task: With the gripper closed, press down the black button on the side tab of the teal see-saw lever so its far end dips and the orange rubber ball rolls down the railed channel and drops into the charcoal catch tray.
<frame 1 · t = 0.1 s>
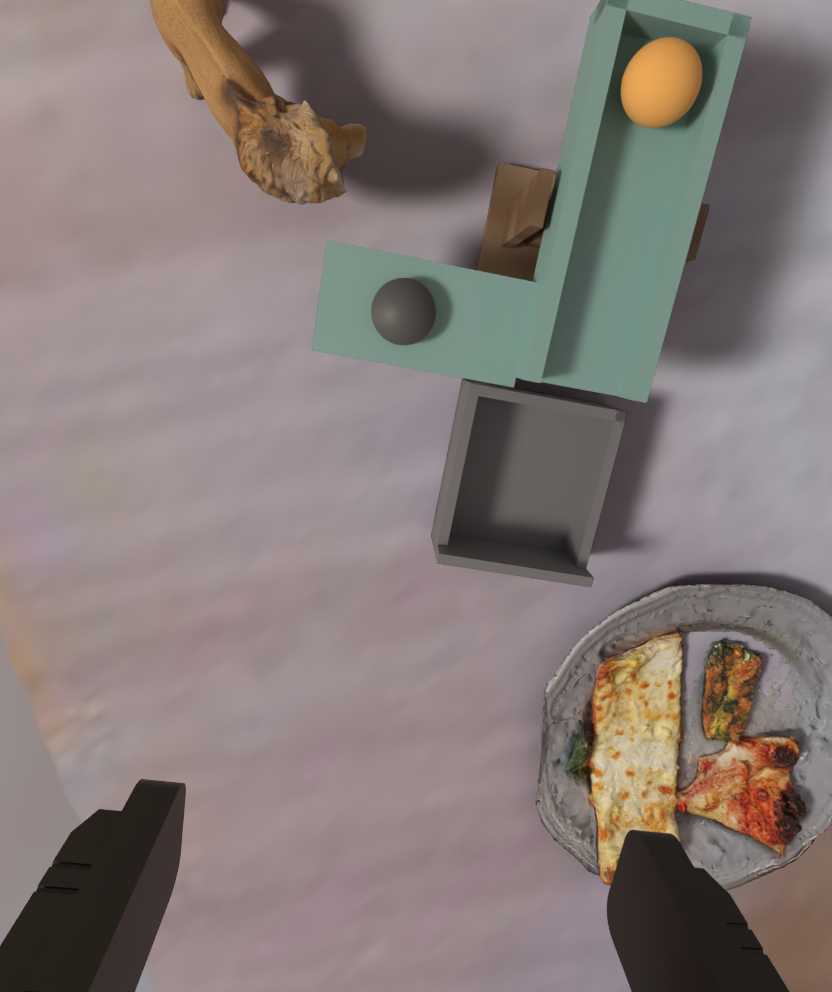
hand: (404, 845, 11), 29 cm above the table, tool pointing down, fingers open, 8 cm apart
food plate: (688, 731, 46), on the table
fulcrum: (569, 239, 36), on the table
tray: (516, 471, 40), on the table
lion figurine: (264, 115, 34), on the table
ball: (660, 84, 26), point 9 cm above the table, touching lever
lever: (512, 198, 28), point 8 cm above the table, hinge at 0.0°, touching ball
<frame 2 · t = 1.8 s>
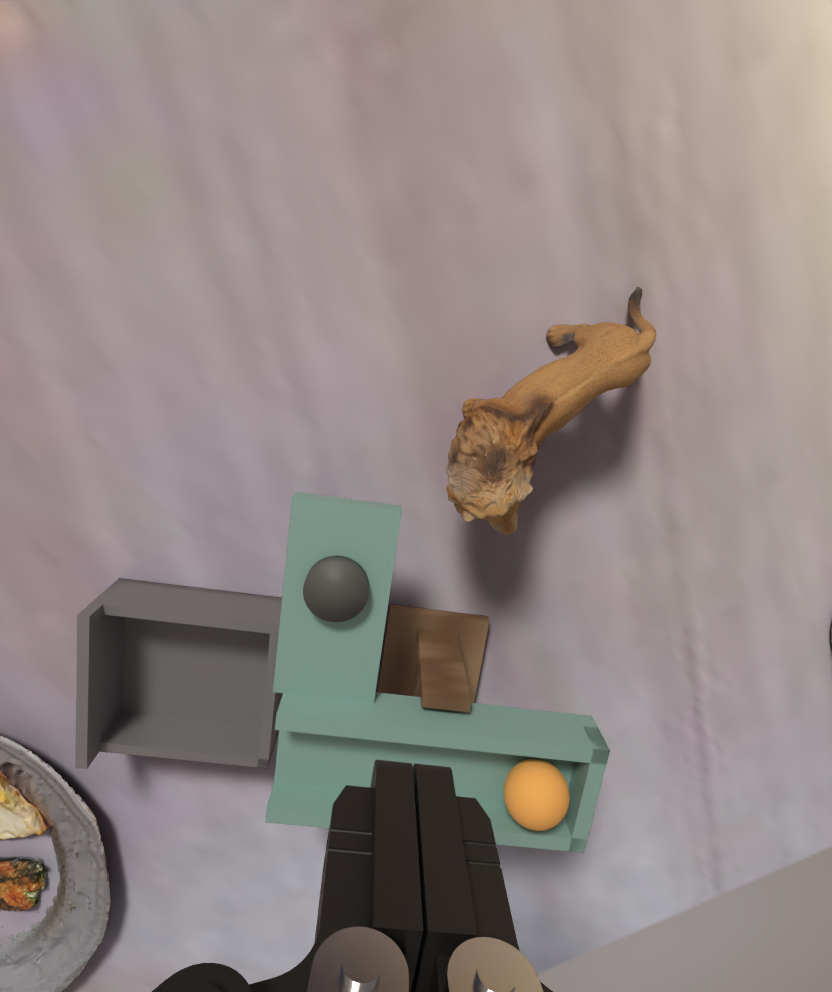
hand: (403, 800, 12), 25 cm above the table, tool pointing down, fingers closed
fulcrum: (427, 683, 39), on the table
tray: (201, 657, 38), on the table
lion figurine: (534, 398, 35), on the table
ball: (536, 793, 31), point 9 cm above the table, touching lever
lever: (445, 679, 30), point 8 cm above the table, hinge at 0.0°, touching ball
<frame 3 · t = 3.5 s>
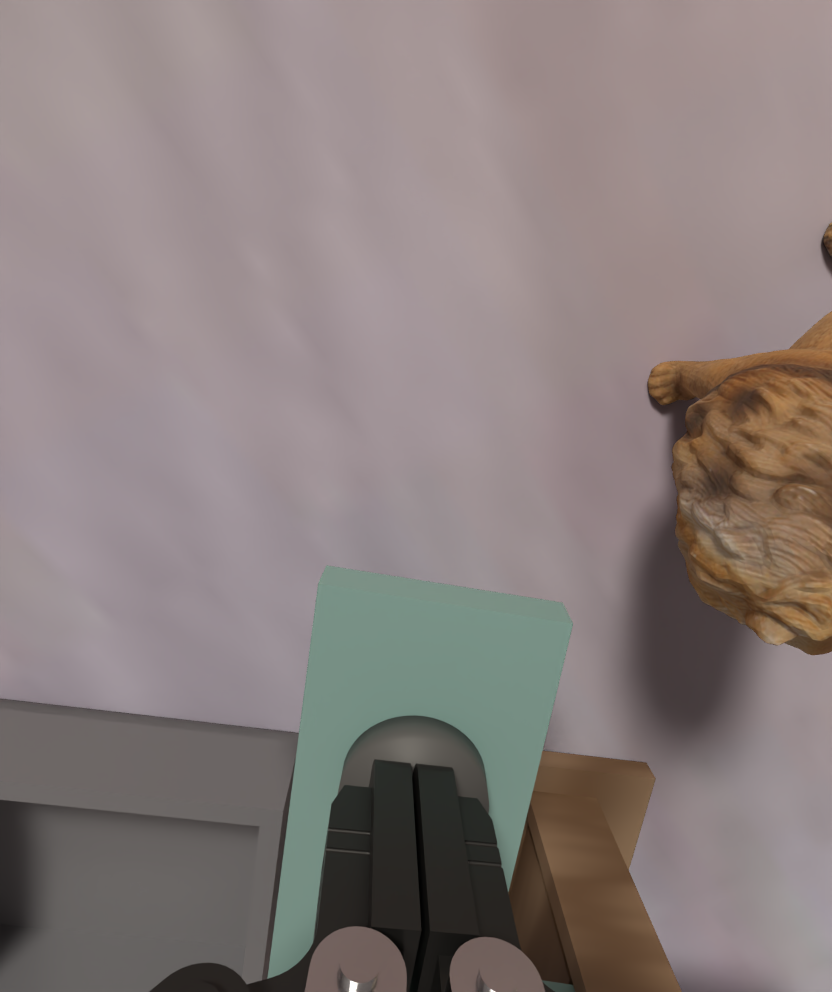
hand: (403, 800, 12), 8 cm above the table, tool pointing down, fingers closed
fulcrum: (532, 871, 23), on the table
tray: (138, 831, 22), on the table
lion figurine: (781, 362, 19), on the table
lever: (642, 984, 14), point 8 cm above the table, hinge at 3.5°, touching gripper
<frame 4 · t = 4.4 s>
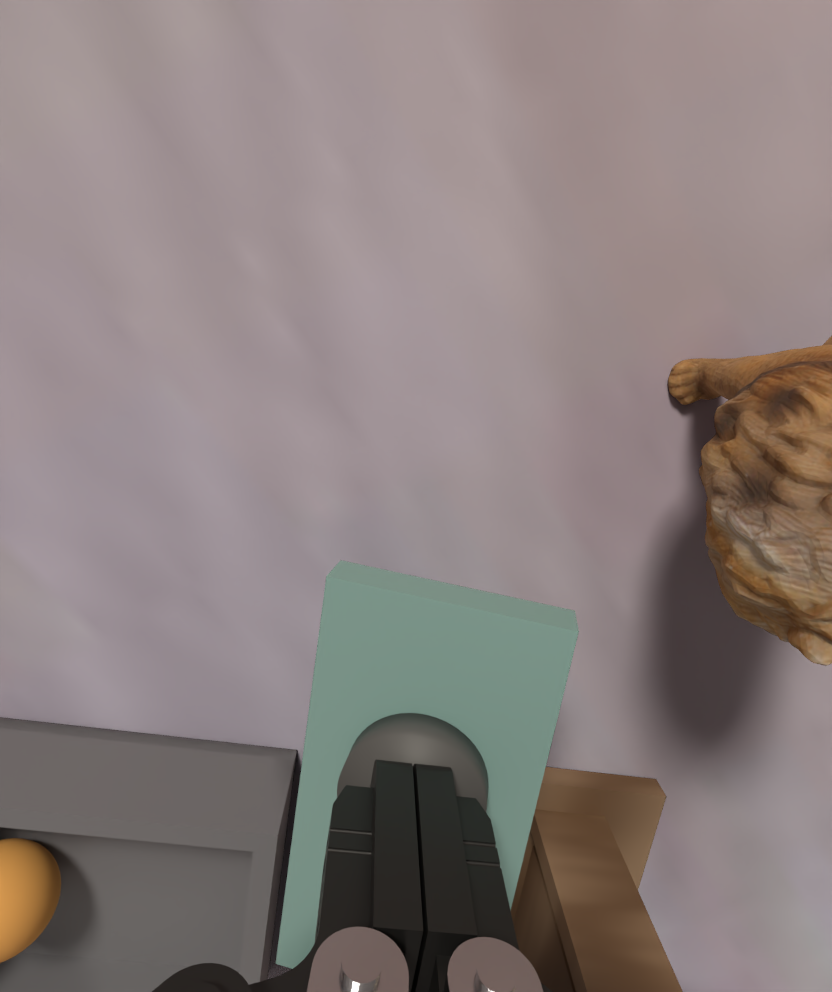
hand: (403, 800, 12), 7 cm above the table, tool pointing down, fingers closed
fulcrum: (537, 891, 22), on the table
tray: (127, 852, 21), on the table
lion figurine: (807, 359, 18), on the table
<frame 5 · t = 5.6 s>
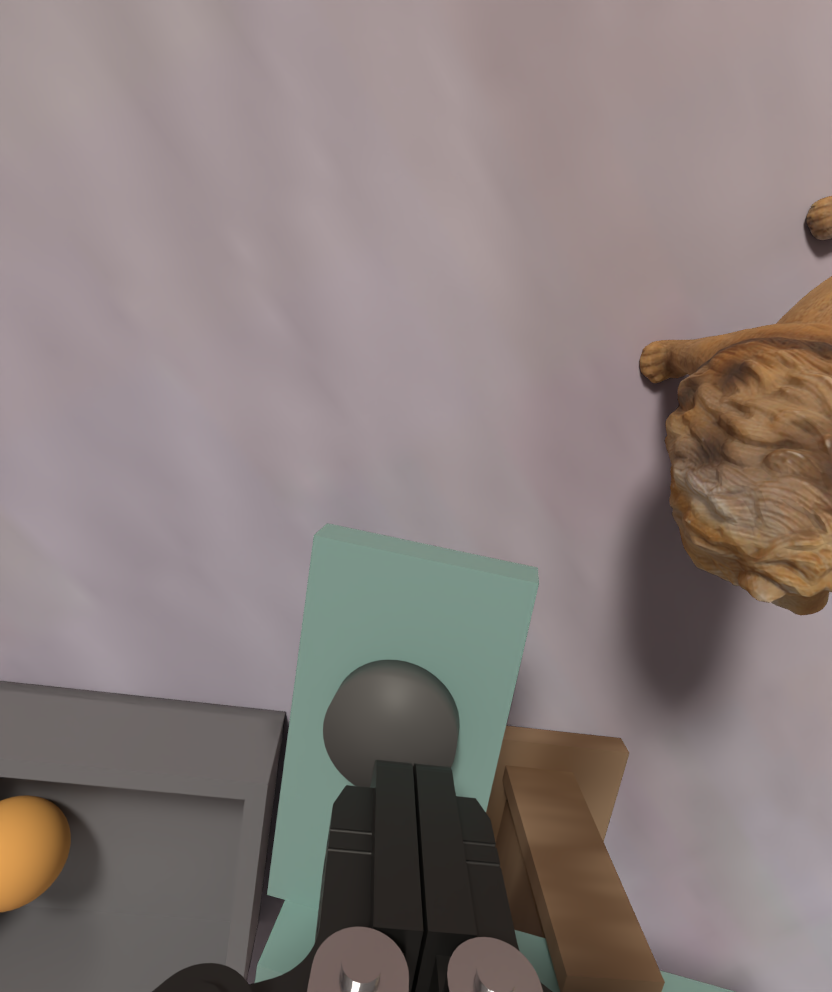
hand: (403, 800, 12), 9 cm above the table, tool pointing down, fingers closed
fulcrum: (511, 844, 23), on the table
tray: (124, 809, 22), on the table
lion figurine: (767, 340, 19), on the table
ball: (12, 851, 20), point 2 cm above the table, tilted 84°, touching tray
lever: (605, 937, 14), point 8 cm above the table, hinge at 12.7°
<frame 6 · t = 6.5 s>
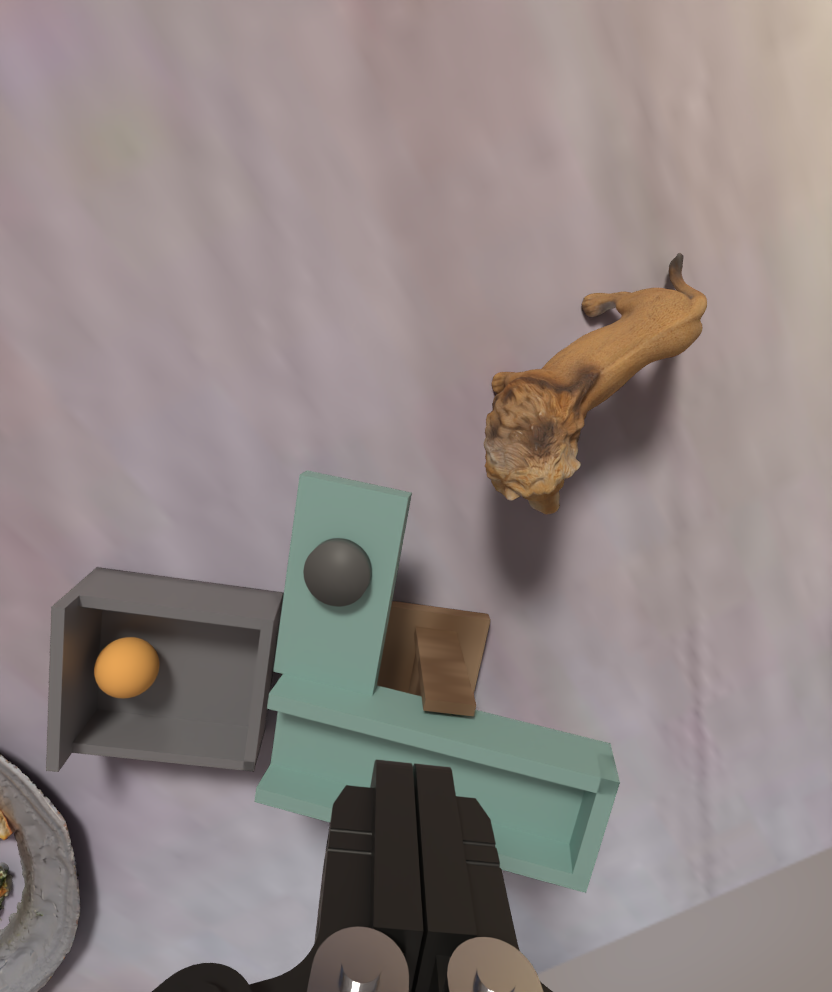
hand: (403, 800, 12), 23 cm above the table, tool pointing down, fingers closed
fulcrum: (422, 682, 37), on the table
tray: (184, 653, 36), on the table
lion figurine: (566, 372, 33), on the table
ball: (127, 667, 34), point 2 cm above the table, tilted 77°, touching tray
lever: (445, 679, 29), point 8 cm above the table, hinge at 12.7°
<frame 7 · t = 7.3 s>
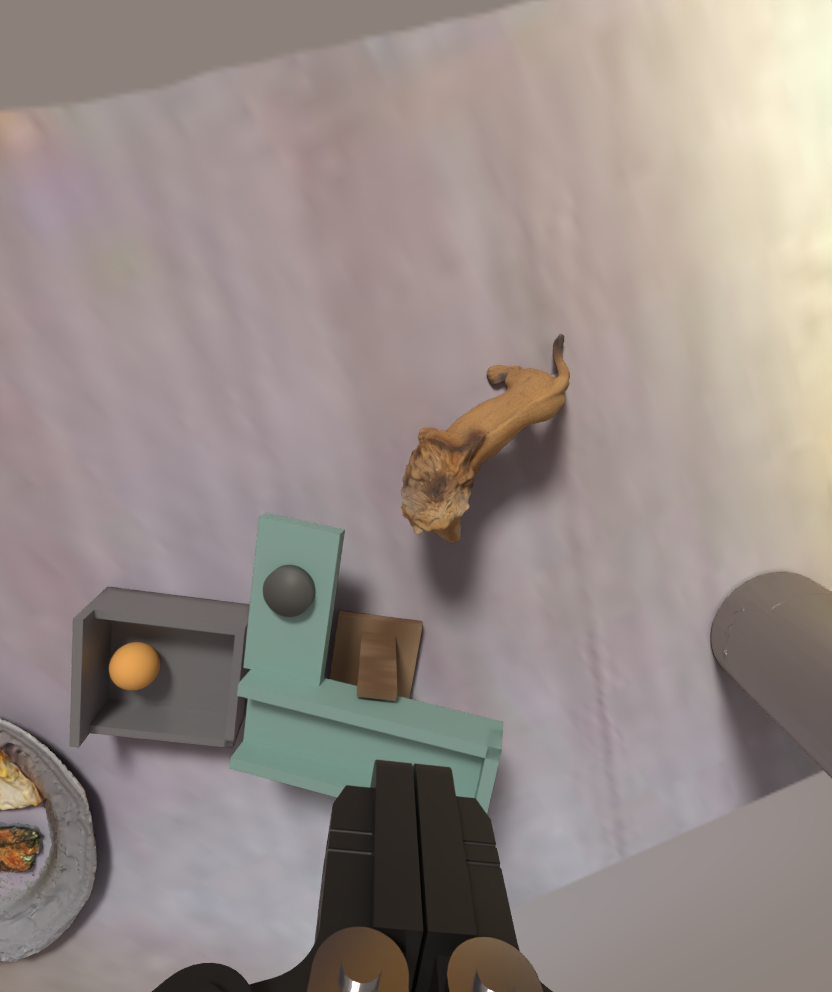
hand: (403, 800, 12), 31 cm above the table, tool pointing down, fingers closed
fulcrum: (370, 677, 46), on the table
tray: (178, 654, 45), on the table
lion figurine: (478, 426, 42), on the table
ball: (134, 666, 43), point 2 cm above the table, tilted 71°, touching tray
lever: (372, 672, 37), point 8 cm above the table, hinge at 12.7°
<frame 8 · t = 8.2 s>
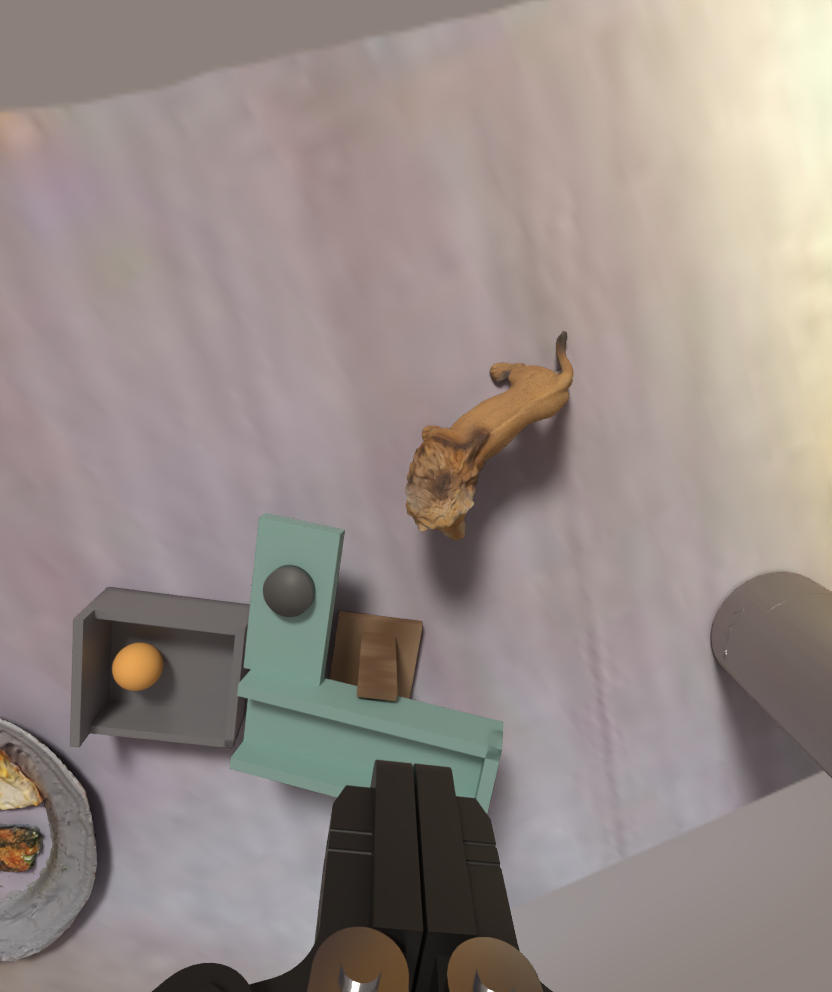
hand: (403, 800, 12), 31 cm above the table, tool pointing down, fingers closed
fulcrum: (371, 677, 46), on the table
tray: (178, 654, 45), on the table
lion figurine: (482, 423, 42), on the table
ball: (138, 666, 43), point 2 cm above the table, tilted 63°, touching tray
lever: (372, 672, 37), point 8 cm above the table, hinge at 12.7°
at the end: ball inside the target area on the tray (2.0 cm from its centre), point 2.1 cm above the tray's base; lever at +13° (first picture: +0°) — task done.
